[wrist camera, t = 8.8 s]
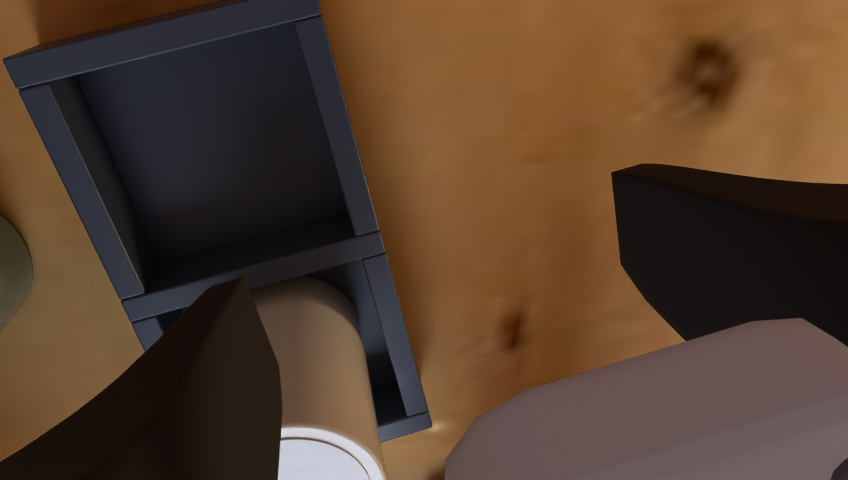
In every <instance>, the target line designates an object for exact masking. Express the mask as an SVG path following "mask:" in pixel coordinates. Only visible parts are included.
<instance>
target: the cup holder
mask: <svg viewBox="0 0 848 480" xmlns="http://www.w3.org/2000/svg"><path fill="white" fill-rule="evenodd" d="M321 13H322V12H321V8H320V4H319V1H318V0H222V1H218V2H214V3H210V4H206V5H202V6H197V7H193V8H189V9H185V10H181V11H177V12H173V13H168V14H164V15H160V16H156V17H152V18H148V19H144V20H139V21H135V22H131V23H127V24H123V25H119V26H115V27H111V28H106V29H102V30H98V31H94V32H90V33H86V34H82V35H77V36H73V37H69V38H65V39H61V40H57V41H53V42H48V43H44V44H40V45H37V46H35V47H32V48H30V49H27V50H25V51H22V52H19V53H17V54H14V55H12V56H9V57H6V58H4V59H3V62H4V64H5V66H6V68H7V70H8V72H9V75H10V77H11V79H12V81H13V83H14V85H15V87H16V88H17V89H20V90H19V94H20V96H21V98H22V100H23V102H24V104H25V106H26V108H27V110H28V112H29V114H30V116H31V118H32V120H33V122H34V125H35V127H36V129H37V131H38V133H39V135H40V137H41V139H42V141H43V143H44V145H45V147H46V149H47V151H48V153H49V155H50V157H51V159H52V161H53V163H54V165H55V168H56V170H57V172H58V174H59V176H60V178H61V180H62V182H63V184H64V186H65V188H66V190H67V192H68V194H69V196H70V198H71V200H72V202H73V204H74V206H75V209H76V211H77V213H78V215H79V217H80V219H81V221H82V223H83V225H84V227H85V229H86V231H87V233H88V235H89V237H90V239H91V241H92V243H93V245H94V247H95V249H96V252H97V254H98V256H99V258H100V260H101V262H102V264H103V266H104V268H105V270H106V272H107V274H108V276H109V278H110V280H111V282H112V284H113V286H114V288H115V290H116V292H117V295H118V297H119V298H120V299H122V300H121V303H122V305H123V307H124V309H125V312H126V314H127V316H128V318H129V320H130V321H131V322H132V326H133V328H134V330H135V332H136V334H137V336H138V338H139V340H140V343H141V345H142V347H143V349H144V351H145V352H146V351H147V350H148V349H149V348H150V347H151V346H152V345H153V344H154V343H155V342H156V341H157V340H158V339H159V338H160V337H161V336H162V335H163V334H164V333H165V332H166V331H167V330H168V329H169V328H170V327H171V326H172V324H173V323H174V322H175V321H176V320H177V319H178V318H179V317H180V316H181V315H182V314H183V313H184V312H185V311H186V310H187V309H188V308H189V307H190V305H191V304H192V303H193V302H194V301H195V300H196V299H197V298H198V297H199V296H200V295H201V294H202V293H203V292H205V291H206V290H207V289H208V288H210V287H211V286H213V285H217V284H220V283H224V282H227V281H231V280H234V279H238V278H241V277H244V278H245V281H246V283H247V286H248V288H249V290H250V289H254V288H257V287H261V286H265V285H268V284H272V283H276V282H279V281H283V280H286V279H290V278H294V277H297V276H301V275H304V276H310V277H314V278H317V279H320V280H322V281H325V282H327V283H329V284H330V285H332V286H334V287H335V288H337V289H338V290H340V291H341V292H342V293H343V294H344V295H345V296H346V297H347V298H348V299H349V301H350V302H351V303H352V305H353V307H354V308H355V310H356V312H357V315H358V317H359V322H360V326H361V332H362V338H363V344H364V349H365V355H366V361H367V367H368V373H369V378H370V384H371V390H372V396H373V401H374V407H375V413H376V419H377V425H378V430H379V436H380V442H384V441H387V440H390V439H394V438H397V437H400V436H404V435H407V434H411V433H414V432H417V431H421V430H424V429H428V428H431V427H432V421H431V418H430V414H429V410H428V407H427V403H426V399H425V395H424V392H423V388H422V384H421V380H420V377H419V373H418V369H417V366H416V362H415V358H414V354H413V351H412V347H411V343H410V340H409V336H408V332H407V328H406V325H405V321H404V317H403V313H402V310H401V306H400V302H399V299H398V295H397V291H396V287H395V284H394V280H393V276H392V273H391V269H390V265H389V261H388V258H387V254H386V251H385V246H384V243H383V239H382V235H381V232H380V228H379V224H378V220H377V217H376V213H375V209H374V206H373V202H372V198H371V194H370V191H369V187H368V183H367V179H366V176H365V172H364V168H363V165H362V161H361V157H360V153H359V150H358V146H357V142H356V139H355V135H354V131H353V127H352V124H351V120H350V116H349V112H348V109H347V105H346V101H345V98H344V94H343V90H342V86H341V83H340V79H339V75H338V71H337V68H336V64H335V60H334V57H333V53H332V49H331V45H330V42H329V38H328V34H327V31H326V27H325V23H324V19H323V16H322V14H321Z"/></svg>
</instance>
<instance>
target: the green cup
mask: <svg viewBox="0 0 848 480" xmlns="http://www.w3.org/2000/svg"><path fill="white" fill-rule="evenodd" d="M32 273H33V270H32V262H31V258H30V255H29V252H28V249H27V247H26V245H25V243H24V241H23V240H22V238H21V236H20V235H19V234H18V232H17V231H16V230H15V229H14V227H13V226H12V225H11V224H10V223H9V222H8V221H7V220H6V219H5V218H3V217H2V216H1V215H0V333H1V332H2V330H3V329H4V328H5V326H6V325H7V324H8V322H9V321H10V320H11V319H12V317H13V316H14V315H15V313H16V312H17V311H18V309H19V308H20V307H21V305H22V304H23V303H24V301H25V299H26V298H27V296H28V293H29V291H30V288H31V283H32Z"/></svg>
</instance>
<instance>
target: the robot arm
mask: <svg viewBox="0 0 848 480" xmlns="http://www.w3.org/2000/svg"><path fill="white" fill-rule="evenodd" d="M611 174H612V184H613V193H614V203H615V212H616V222H617V232H618V241H619V251H620V260H621V265H622V267H623V268H624V270H625V271H626V273H627V274H628V276H629V277H630V279H631V280H632V282H633V283H634V284H635V286H636V287H637V289H638V290H639V291H640V293H641V294H642V295H643V297H644V298H645V299H646V301H647V302H648V303H649V304H650V305H651V306H652V307H653V308H654V309H655V310H656V311H657V312H658V313H659V314H660V315H661V316H662V317H663V318H664V319H665V321H666V322H667V323H668V324H669V325H670V326H671V327H672V328H673V329H674V330H675V331H676V332H677V333H678V334H679V335H680V336H681V337H682V338H683V339H684V340H685V341H686V342H682V343H679V344H676V345H673V346H669V347H666V348H663V349H659V350H656V351H653V352H650V353H646V354H643V355H640V356H636V357H633V358H630V359H627V360H623V361H620V362H617V363H613V364H610V365H607V366H604V367H600V368H597V369H594V370H590V371H587V372H584V373H581V374H577V375H574V376H571V377H567V378H564V379H561V380H558V381H554V382H551V383H548V384H545V385H541V386H538V387H535V388H531V389H528V390H526V391H524V392H522V393H520V394H518V395H516V396H515V397H513V398H511V399H509V400H507V401H506V402H504V403H502V404H500V405H498V406H496V407H495V408H493V409H491V410H489V411H487V412H485V413H484V414H482V415H480V416H478V417H476V419H475V420H474V421H473V423H472V424H471V425H470V427H469V428H468V430H467V431H466V432H465V434H464V435H463V436H462V438H461V439H460V440H459V442H458V443H457V445H456V446H455V447H454V449H453V450H452V451H451V453H450V454H449V455H448V457H447V458H446V465H445V480H848V184H827V183H807V182H793V181H784V180H774V179H764V178H756V177H748V176H741V175H734V174H727V173H720V172H713V171H707V170H700V169H693V168H687V167H680V166H672V165H663V164H639V165H636V166H632V167H629V168H625V169H621V170H618V171H614V172H611ZM282 411H283V407H282V392H281V381H280V370H279V364H278V361H277V359H276V356H275V354H274V351H273V349H272V346H271V344H270V341H269V339H268V336H267V334H266V331H265V329H264V326H263V324H262V321H261V318H260V316H259V313H258V311H257V308H256V306H255V303H254V301H253V298H252V296H251V293H250V291H249V288H248V286H247V283H246V281H245V278H244V277H241V278H238V279H234V280H231V281H227V282H224V283H220V284H217V285H213V286H211V287H210V288H208V289H207V290H206V291H205V292H203V293H202V294H201V295H200V296H199V297H198V298H197V299H196V300H195V301H194V302H193V303H192V304H191V305H190V307H189V308H188V309H187V310H186V311H185V312H184V313H183V314H182V315H181V316H180V317H179V318H178V319H177V320H176V321H175V322H174V323H173V324H172V326H171V327H170V328H169V329H168V330H167V331H166V332H165V333H164V334H163V335H162V336H161V337H160V338H159V339H158V340H157V341H156V342H155V343H154V344H153V345H152V346H151V347H150V348H149V349H148V350H147V351H146V352H145V353H144V354H143V355H142V356H141V357H140V358H138V359H137V360H136V361H135V362H134V363H133V364H132V365H131V366H130V367H129V368H128V369H127V370H126V371H125V372H124V373H123V374H122V375H121V376H119V377H118V378H117V379H116V380H115V381H114V382H113V383H111V384H110V385H109V386H108V387H107V388H105V389H104V390H103V391H102V392H101V393H99V394H98V395H97V396H96V397H94V398H93V399H92V400H90V401H89V402H88V403H87V404H85V405H84V406H83V407H82V408H80V409H79V410H78V411H76V412H75V413H74V414H72V415H71V416H70V417H68V418H67V419H65V420H64V421H62V422H61V423H59V424H58V425H56V426H55V427H53V428H52V429H50V430H49V431H47V432H46V433H44V434H43V435H41V436H40V437H39V438H37V439H36V440H34V441H33V442H31V443H30V444H28V445H27V446H25V447H24V448H22V449H21V450H19V451H18V452H16V453H14V454H13V455H11V456H9V457H8V458H6V459H4V460H3V461H1V462H0V480H278V469H279V456H280V442H281V427H282Z"/></svg>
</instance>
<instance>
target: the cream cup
mask: <svg viewBox="0 0 848 480" xmlns="http://www.w3.org/2000/svg"><path fill="white" fill-rule="evenodd" d="M249 291H250V293H251V296H252V298H253V301H254V303H255V306H256V308H257V311H258V313H259V316H260V318H261V321H262V324H263V326H264V329H265V331H266V334H267V336H268V339H269V341H270V344H271V346H272V349H273V351H274V354H275V356H276V359H277V361H278V364H279V370H280V381H281V392H282V407H283V411H282V427H281V442H280V456H279V469H278V480H387V477H386V471H385V465H384V459H383V453H382V448H381V442H380V436H379V430H378V425H377V419H376V413H375V407H374V401H373V396H372V390H371V384H370V378H369V373H368V367H367V361H366V355H365V349H364V344H363V338H362V332H361V326H360V322H359V317H358V315H357V312H356V310H355V308H354V307H353V305H352V303H351V302H350V301H349V299H348V298H347V297H346V296H345V295H344V294H343V293H342V292H341V291H340V290H338V289H337V288H335V287H334V286H332V285H330V284H329V283H327V282H325V281H322V280H320V279H317V278H314V277H310V276H304V275H301V276H297V277H294V278H290V279H286V280H283V281H279V282H276V283H272V284H268V285H265V286H261V287H257V288H254V289H250V290H249Z"/></svg>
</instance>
